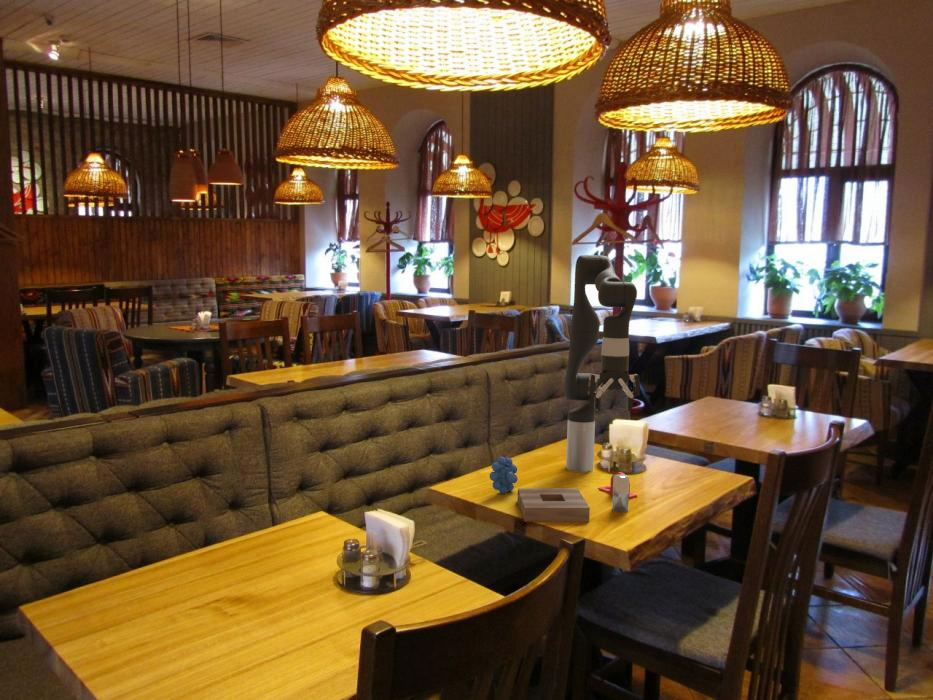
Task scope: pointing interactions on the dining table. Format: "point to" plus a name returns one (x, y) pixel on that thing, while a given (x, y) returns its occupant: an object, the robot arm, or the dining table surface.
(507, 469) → the grapes
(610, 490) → the bracket
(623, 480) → the peg
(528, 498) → the socket block
